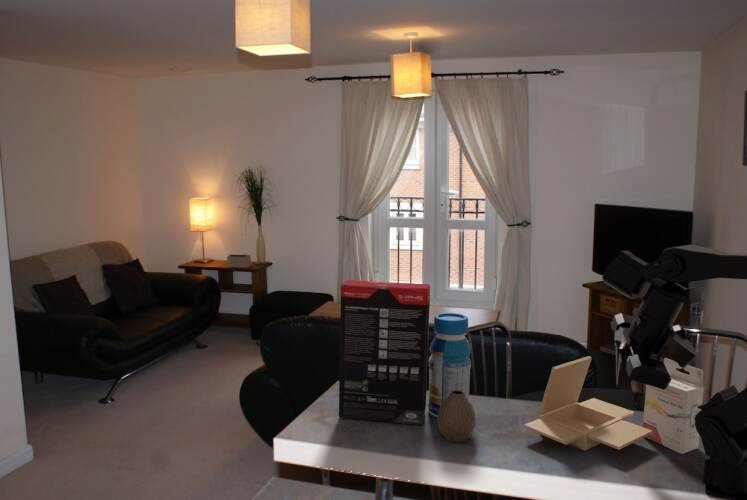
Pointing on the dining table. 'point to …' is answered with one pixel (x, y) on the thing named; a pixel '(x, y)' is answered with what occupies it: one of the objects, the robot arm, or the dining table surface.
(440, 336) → the beverage bottle
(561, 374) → the flap
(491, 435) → the dining table surface
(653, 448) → the dining table surface
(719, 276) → the robot arm
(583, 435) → the carton
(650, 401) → the ink cartridge box
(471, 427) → the vase
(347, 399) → the graphics card box
